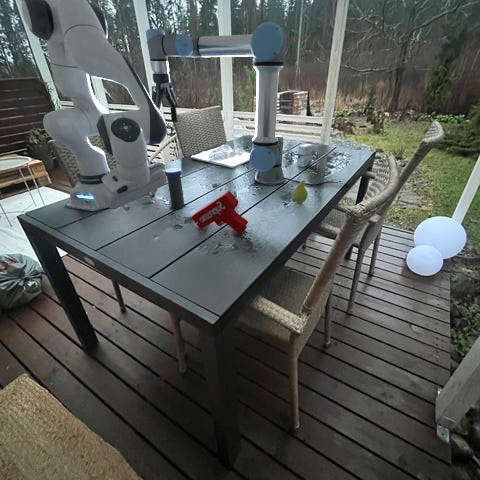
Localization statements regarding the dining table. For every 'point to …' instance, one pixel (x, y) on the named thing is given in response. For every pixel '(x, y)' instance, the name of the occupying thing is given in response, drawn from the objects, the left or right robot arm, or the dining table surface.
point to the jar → (176, 192)
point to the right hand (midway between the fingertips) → (167, 124)
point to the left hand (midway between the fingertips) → (139, 202)
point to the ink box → (304, 154)
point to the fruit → (300, 192)
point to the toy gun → (221, 214)
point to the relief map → (224, 156)
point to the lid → (173, 172)
